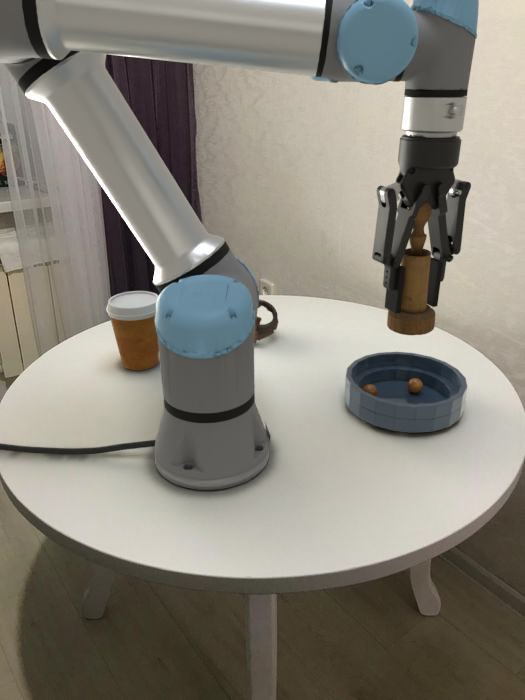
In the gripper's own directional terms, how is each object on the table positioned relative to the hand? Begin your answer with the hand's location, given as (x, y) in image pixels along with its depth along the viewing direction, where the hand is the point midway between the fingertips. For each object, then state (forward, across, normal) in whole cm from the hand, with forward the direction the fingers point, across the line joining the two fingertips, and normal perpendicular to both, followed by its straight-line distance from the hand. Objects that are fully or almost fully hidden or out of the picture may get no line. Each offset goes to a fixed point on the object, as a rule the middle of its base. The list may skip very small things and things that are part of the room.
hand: (411, 306), depth 84 cm
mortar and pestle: (+3, 0, 0) cm, 3 cm away
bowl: (+16, 0, 0) cm, 16 cm away
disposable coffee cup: (+17, -33, +32) cm, 49 cm away
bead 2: (+14, +4, +1) cm, 15 cm away
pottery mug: (+17, -11, +35) cm, 40 cm away
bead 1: (+14, -4, +3) cm, 15 cm away
